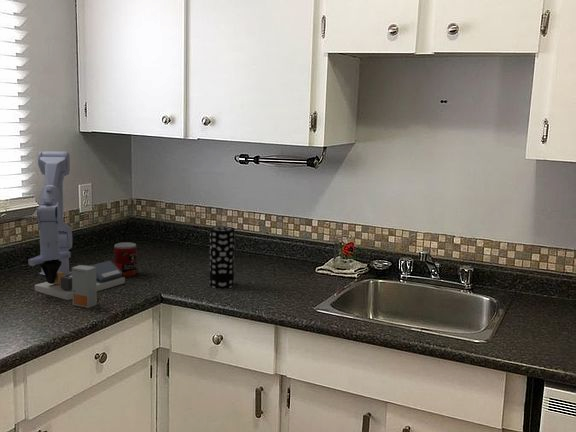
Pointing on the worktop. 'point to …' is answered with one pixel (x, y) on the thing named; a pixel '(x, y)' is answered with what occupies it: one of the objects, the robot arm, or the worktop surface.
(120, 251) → the canned food
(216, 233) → the white-spotted black cylinder
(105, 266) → the rocker
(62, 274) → the orange fader knob
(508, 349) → the worktop surface
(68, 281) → the black fader knob
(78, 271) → the skincare box
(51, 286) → the panel
